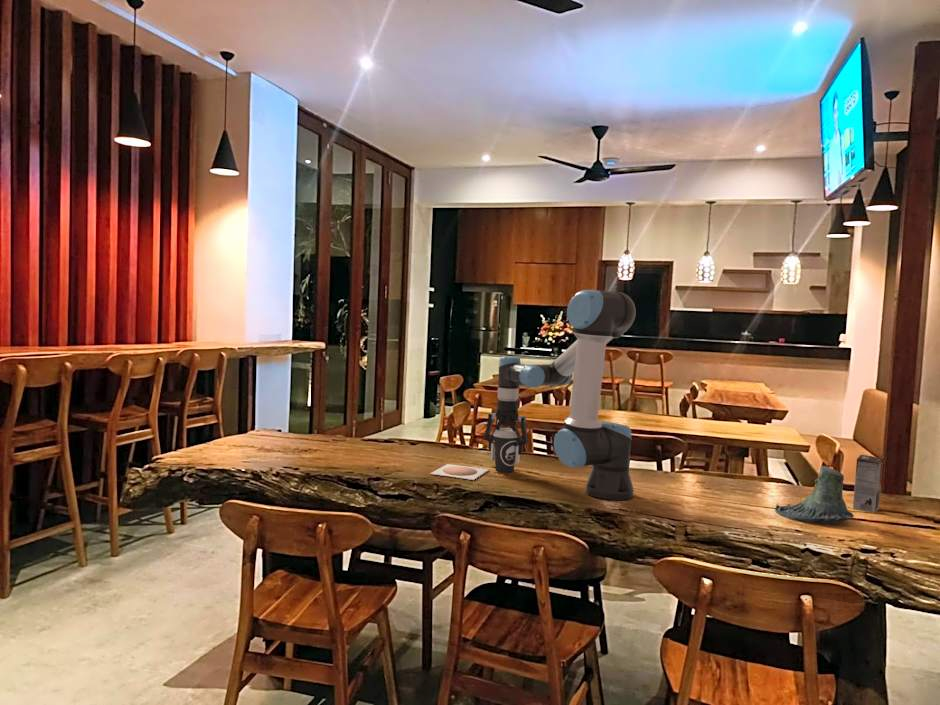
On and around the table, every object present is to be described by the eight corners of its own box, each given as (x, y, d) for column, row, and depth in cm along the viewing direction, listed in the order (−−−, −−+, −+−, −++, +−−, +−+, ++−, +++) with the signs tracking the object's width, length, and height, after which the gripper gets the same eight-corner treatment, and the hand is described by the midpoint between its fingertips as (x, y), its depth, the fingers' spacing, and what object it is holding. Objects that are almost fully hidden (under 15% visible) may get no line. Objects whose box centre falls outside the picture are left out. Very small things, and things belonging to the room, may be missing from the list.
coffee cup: (518, 468, 234) (520, 428, 233) (517, 475, 224) (519, 433, 223) (492, 467, 235) (494, 426, 234) (490, 473, 225) (492, 431, 224)
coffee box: (856, 503, 207) (860, 454, 206) (879, 507, 203) (884, 457, 202) (851, 509, 200) (855, 458, 199) (875, 513, 196) (880, 462, 195)
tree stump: (785, 504, 204) (804, 452, 201) (852, 535, 191) (874, 481, 187) (765, 512, 191) (785, 457, 187) (836, 546, 177) (859, 488, 174)
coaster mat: (488, 471, 228) (488, 468, 228) (473, 481, 213) (473, 478, 213) (447, 465, 234) (447, 463, 234) (429, 475, 219) (429, 472, 219)
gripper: (539, 400, 228) (536, 463, 229) (483, 395, 235) (480, 456, 236) (534, 403, 221) (531, 467, 222) (476, 398, 228) (473, 460, 229)
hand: (504, 461), depth 229 cm, fingers open, 9 cm apart
